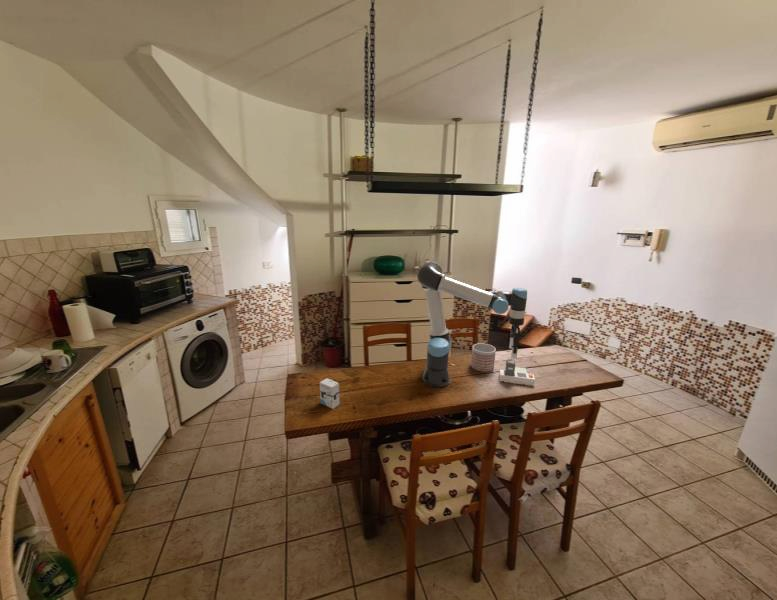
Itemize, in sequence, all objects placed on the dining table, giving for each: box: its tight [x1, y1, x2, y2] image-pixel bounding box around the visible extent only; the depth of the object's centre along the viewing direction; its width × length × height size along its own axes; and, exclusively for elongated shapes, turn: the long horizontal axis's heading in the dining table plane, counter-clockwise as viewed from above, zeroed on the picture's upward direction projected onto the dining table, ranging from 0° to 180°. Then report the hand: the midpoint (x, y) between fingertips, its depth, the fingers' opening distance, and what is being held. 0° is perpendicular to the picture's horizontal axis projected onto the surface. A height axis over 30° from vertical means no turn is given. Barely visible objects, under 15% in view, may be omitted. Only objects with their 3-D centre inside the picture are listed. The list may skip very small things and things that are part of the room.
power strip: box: [498, 369, 536, 387], centre depth 183 cm, size 18×6×5 cm, turn 75°
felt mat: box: [515, 366, 528, 373], centre depth 194 cm, size 9×9×1 cm
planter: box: [470, 342, 497, 373], centre depth 198 cm, size 14×14×13 cm
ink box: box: [319, 378, 340, 410], centre depth 157 cm, size 8×5×12 cm, turn 56°
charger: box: [504, 359, 516, 376], centre depth 183 cm, size 4×4×9 cm
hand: (512, 353), depth 180 cm, fingers open, 13 cm apart
